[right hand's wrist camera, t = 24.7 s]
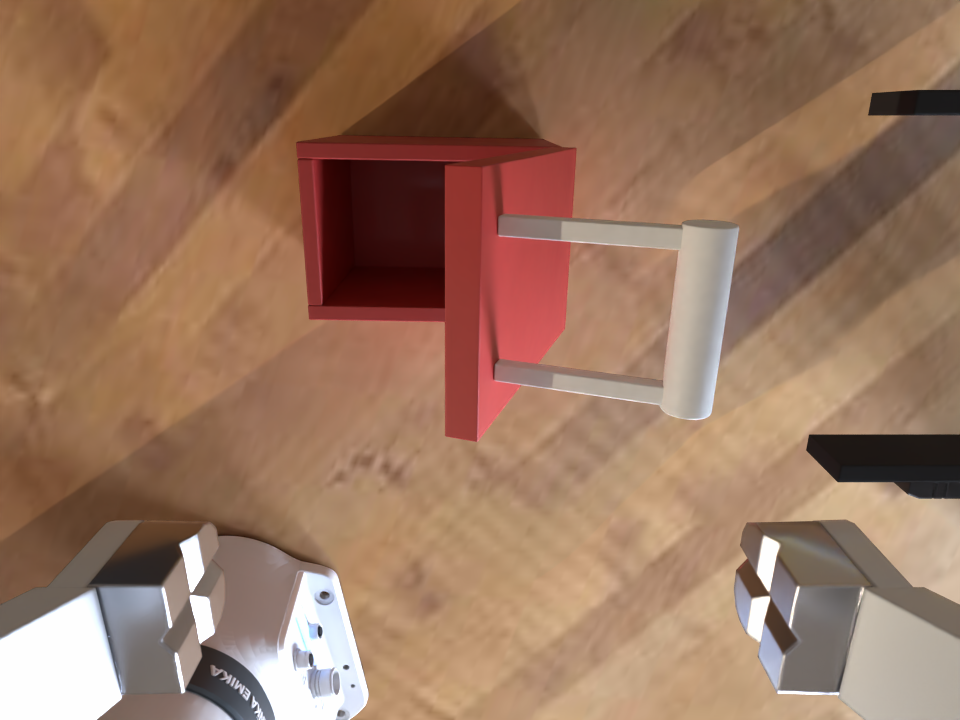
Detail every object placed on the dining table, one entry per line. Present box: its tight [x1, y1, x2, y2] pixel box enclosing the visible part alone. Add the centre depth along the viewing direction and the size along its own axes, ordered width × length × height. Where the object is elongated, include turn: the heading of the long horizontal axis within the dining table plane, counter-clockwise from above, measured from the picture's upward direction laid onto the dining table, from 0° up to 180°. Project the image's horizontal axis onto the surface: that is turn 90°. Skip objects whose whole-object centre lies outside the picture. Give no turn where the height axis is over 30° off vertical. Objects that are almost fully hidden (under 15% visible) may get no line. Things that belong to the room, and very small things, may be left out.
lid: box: [445, 147, 739, 442], centre depth 28 cm, size 15×10×9 cm
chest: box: [296, 135, 561, 322], centre depth 41 cm, size 14×10×11 cm
